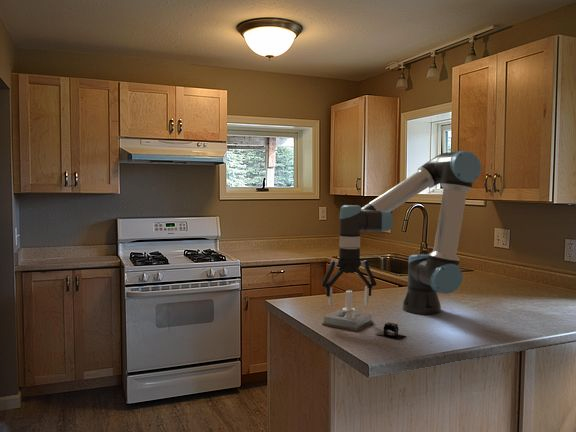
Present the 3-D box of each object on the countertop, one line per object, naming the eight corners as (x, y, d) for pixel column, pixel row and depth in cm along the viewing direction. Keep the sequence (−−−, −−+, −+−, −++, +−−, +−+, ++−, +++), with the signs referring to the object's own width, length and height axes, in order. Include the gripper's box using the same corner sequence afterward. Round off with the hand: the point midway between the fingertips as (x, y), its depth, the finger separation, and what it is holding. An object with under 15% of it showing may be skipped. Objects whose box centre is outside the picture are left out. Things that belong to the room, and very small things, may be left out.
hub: (373, 322, 185) (373, 314, 185) (357, 331, 173) (357, 322, 173) (339, 316, 193) (339, 308, 192) (322, 324, 181) (322, 316, 181)
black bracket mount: (369, 336, 170) (369, 323, 170) (378, 331, 176) (379, 318, 175) (404, 343, 163) (404, 329, 162) (412, 338, 169) (412, 324, 168)
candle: (352, 319, 186) (353, 287, 186) (358, 323, 181) (358, 290, 180) (339, 320, 185) (339, 288, 184) (344, 324, 180) (344, 291, 179)
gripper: (379, 246, 187) (378, 301, 188) (314, 246, 183) (313, 303, 185) (386, 248, 179) (384, 306, 180) (317, 248, 176) (316, 308, 177)
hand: (348, 305), depth 183 cm, fingers open, 13 cm apart
